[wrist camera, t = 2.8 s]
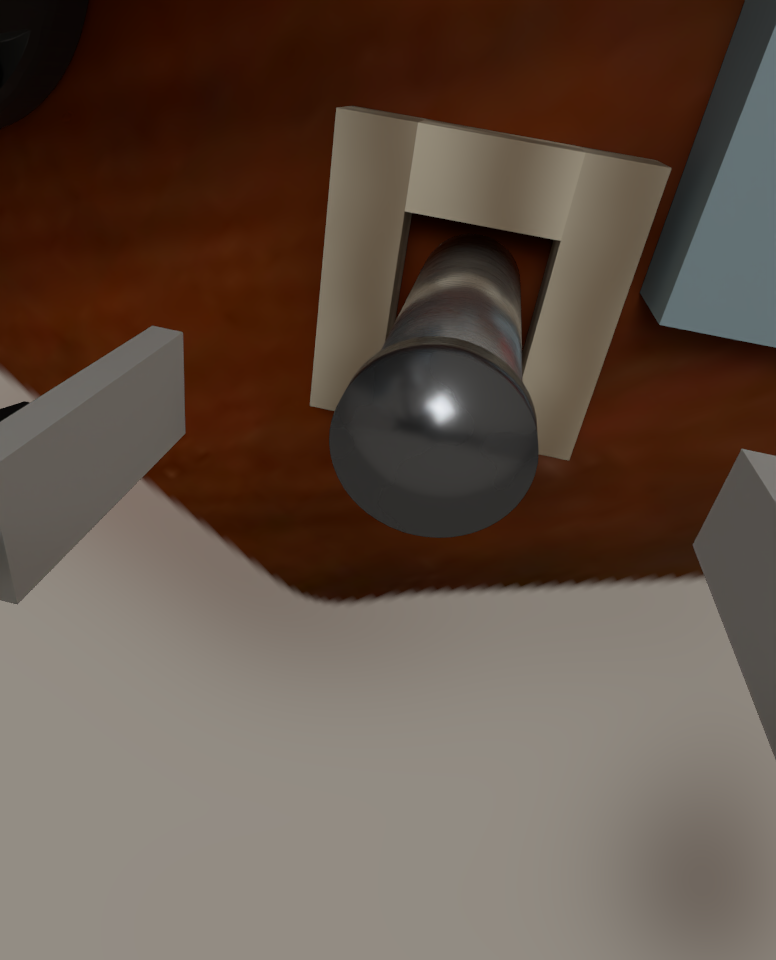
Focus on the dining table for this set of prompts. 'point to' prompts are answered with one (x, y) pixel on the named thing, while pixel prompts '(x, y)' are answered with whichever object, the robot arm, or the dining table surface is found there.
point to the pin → (443, 401)
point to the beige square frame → (491, 203)
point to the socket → (726, 202)
